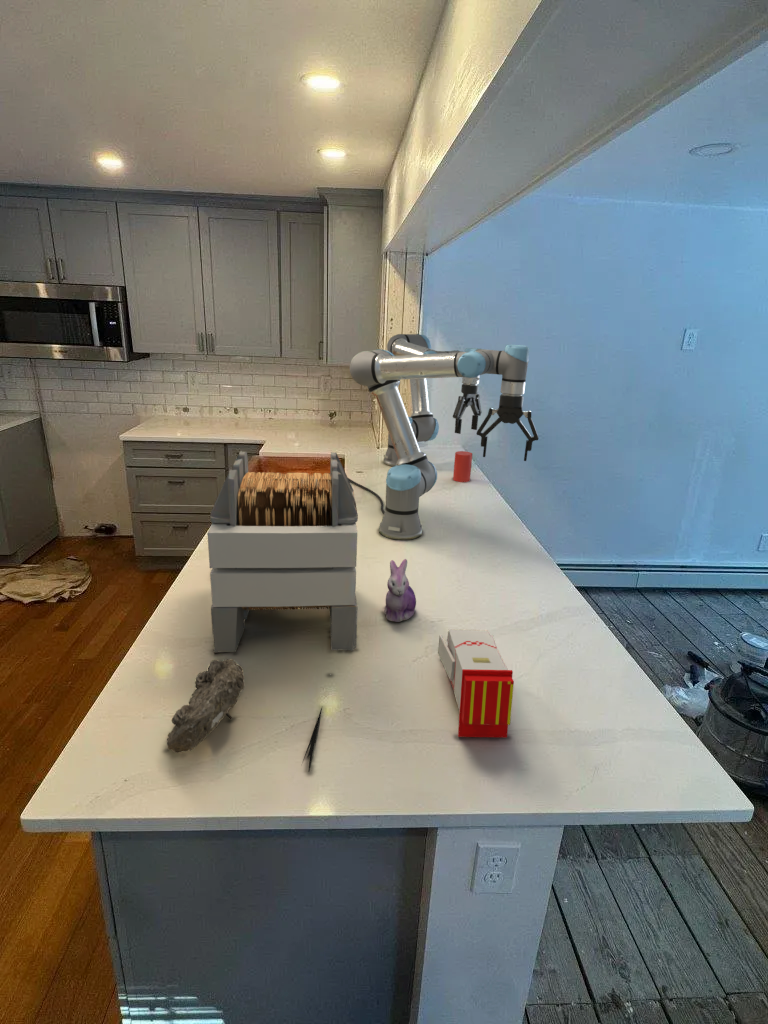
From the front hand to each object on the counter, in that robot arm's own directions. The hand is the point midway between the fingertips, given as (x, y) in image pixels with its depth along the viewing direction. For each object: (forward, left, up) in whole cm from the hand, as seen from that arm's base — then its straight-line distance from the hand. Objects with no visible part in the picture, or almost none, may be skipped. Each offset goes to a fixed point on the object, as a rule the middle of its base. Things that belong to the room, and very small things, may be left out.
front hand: (504, 458), depth 191 cm
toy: (+52, -73, -29) cm, 94 cm away
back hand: (-56, +44, -6) cm, 71 cm away
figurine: (+20, -64, -29) cm, 73 cm away
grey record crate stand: (+3, -87, -29) cm, 92 cm away
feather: (+40, -103, -29) cm, 114 cm away
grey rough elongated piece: (+27, -118, -29) cm, 125 cm away
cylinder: (-56, +44, -29) cm, 77 cm away
